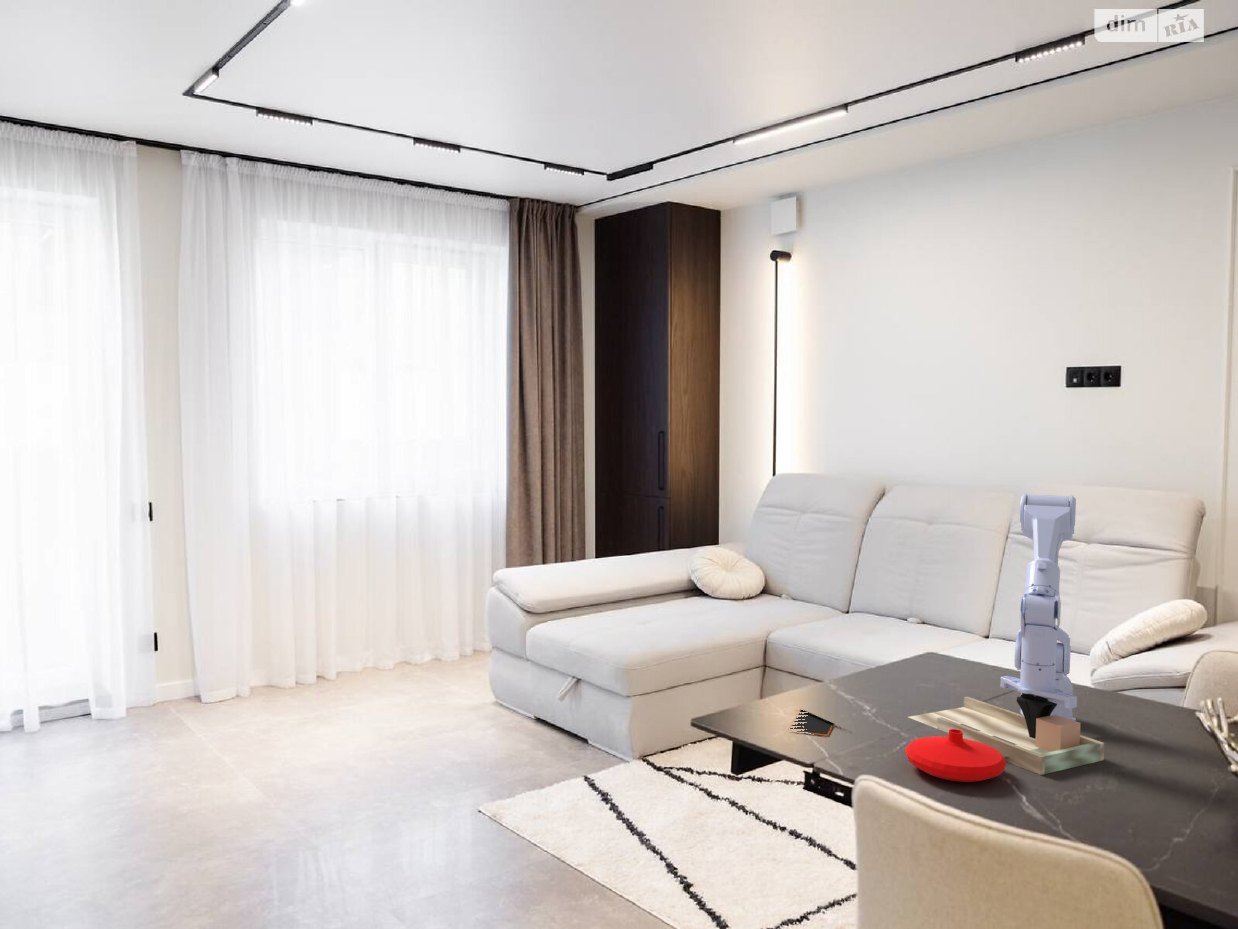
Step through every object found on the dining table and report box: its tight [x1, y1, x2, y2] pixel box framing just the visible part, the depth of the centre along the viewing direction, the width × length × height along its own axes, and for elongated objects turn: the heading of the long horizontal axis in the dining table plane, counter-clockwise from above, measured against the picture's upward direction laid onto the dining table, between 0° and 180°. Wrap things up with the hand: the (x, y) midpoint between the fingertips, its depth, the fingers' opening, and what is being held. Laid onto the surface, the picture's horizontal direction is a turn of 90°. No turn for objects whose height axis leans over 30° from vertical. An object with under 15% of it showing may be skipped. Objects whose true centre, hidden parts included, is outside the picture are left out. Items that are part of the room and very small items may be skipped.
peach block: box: [1035, 715, 1081, 752], centre depth 164 cm, size 5×5×5 cm
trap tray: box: [907, 696, 1105, 776], centre depth 172 cm, size 16×30×3 cm, turn 27°
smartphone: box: [789, 709, 835, 738], centre depth 181 cm, size 8×17×1 cm, turn 159°
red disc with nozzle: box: [904, 729, 1007, 783], centre depth 155 cm, size 16×16×7 cm
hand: (1035, 737), depth 168 cm, fingers closed
